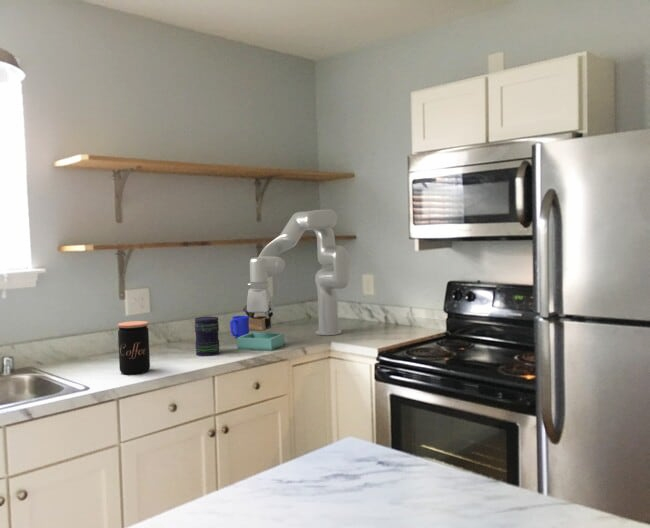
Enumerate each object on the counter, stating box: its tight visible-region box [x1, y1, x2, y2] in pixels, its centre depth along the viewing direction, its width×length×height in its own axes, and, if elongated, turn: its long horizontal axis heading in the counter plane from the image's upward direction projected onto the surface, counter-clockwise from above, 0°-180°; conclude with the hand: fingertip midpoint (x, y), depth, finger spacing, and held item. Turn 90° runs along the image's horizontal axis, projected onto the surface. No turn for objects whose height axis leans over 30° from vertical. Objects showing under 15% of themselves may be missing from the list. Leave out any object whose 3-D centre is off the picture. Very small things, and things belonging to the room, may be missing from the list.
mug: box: [229, 315, 250, 339], centre depth 288 cm, size 8×12×10 cm
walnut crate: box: [249, 315, 272, 332], centre depth 264 cm, size 9×6×5 cm
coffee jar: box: [117, 320, 151, 376], centre depth 223 cm, size 11×11×18 cm
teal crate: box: [236, 331, 286, 352], centre depth 264 cm, size 14×16×5 cm
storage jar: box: [194, 316, 221, 357], centre depth 252 cm, size 10×10×15 cm
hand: (260, 326), depth 264 cm, fingers closed on walnut crate, 6 cm apart
